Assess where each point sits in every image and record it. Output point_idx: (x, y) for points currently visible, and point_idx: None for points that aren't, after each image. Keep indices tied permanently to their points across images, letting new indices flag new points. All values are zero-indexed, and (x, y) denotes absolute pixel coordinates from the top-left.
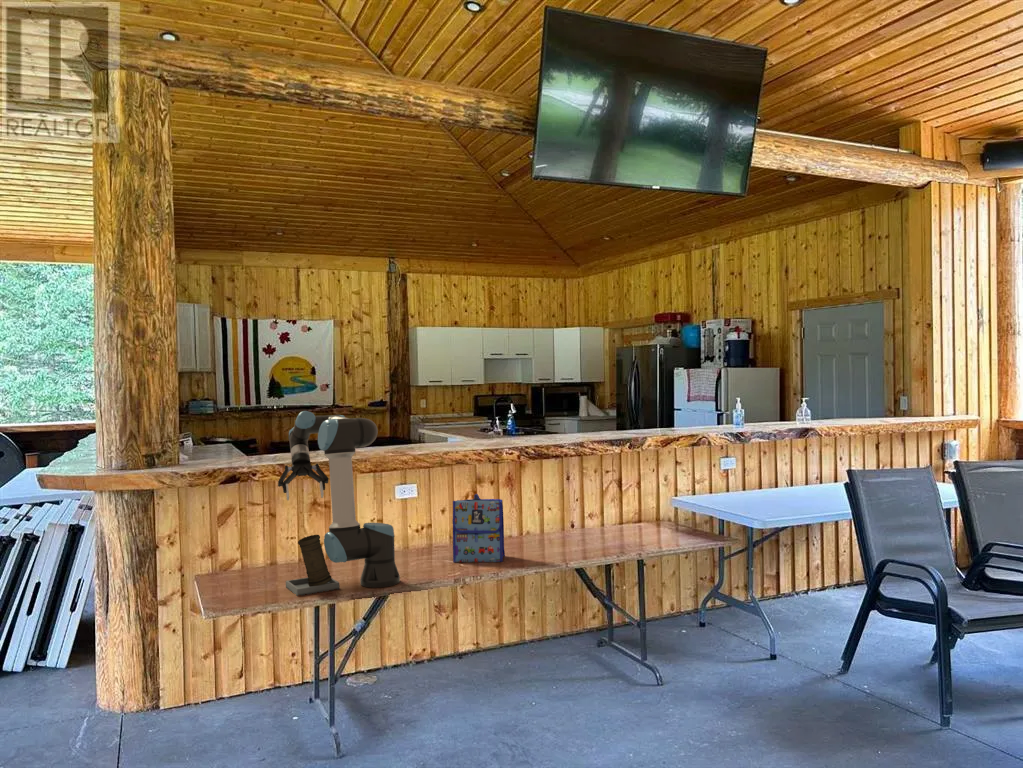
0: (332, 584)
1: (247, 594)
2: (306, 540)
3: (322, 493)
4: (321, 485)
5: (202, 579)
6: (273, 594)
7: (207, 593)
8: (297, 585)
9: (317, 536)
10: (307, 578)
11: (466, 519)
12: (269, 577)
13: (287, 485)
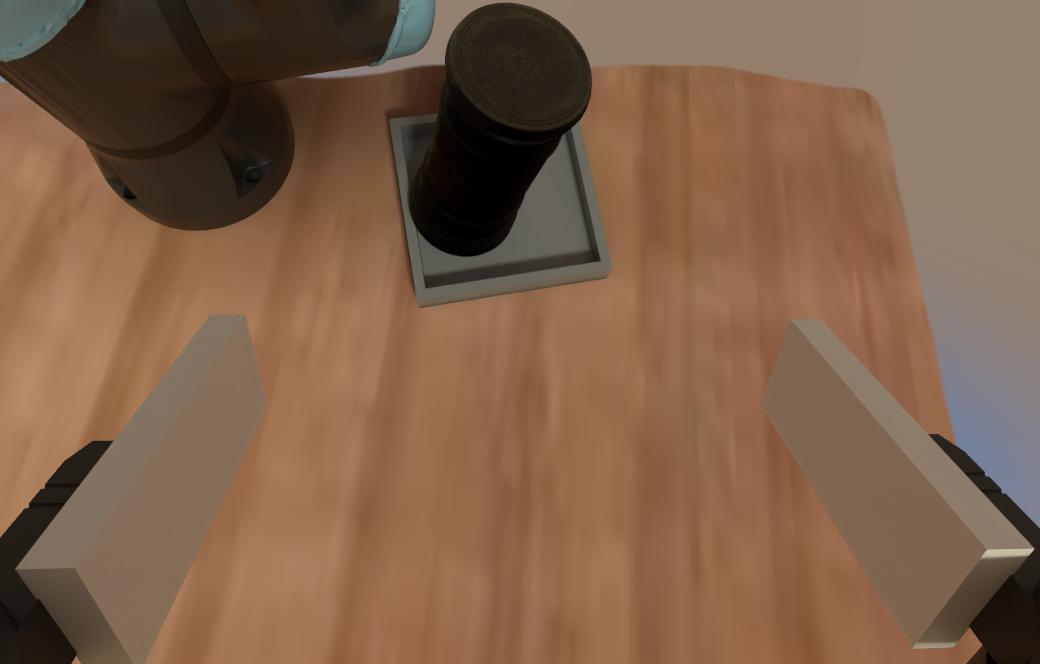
0: (421, 116)
1: (760, 237)
2: (542, 34)
3: (230, 315)
4: (132, 451)
5: None
6: (658, 185)
7: (925, 338)
8: (557, 255)
9: (466, 29)
10: (511, 275)
11: None
12: (674, 527)
13: (956, 495)
